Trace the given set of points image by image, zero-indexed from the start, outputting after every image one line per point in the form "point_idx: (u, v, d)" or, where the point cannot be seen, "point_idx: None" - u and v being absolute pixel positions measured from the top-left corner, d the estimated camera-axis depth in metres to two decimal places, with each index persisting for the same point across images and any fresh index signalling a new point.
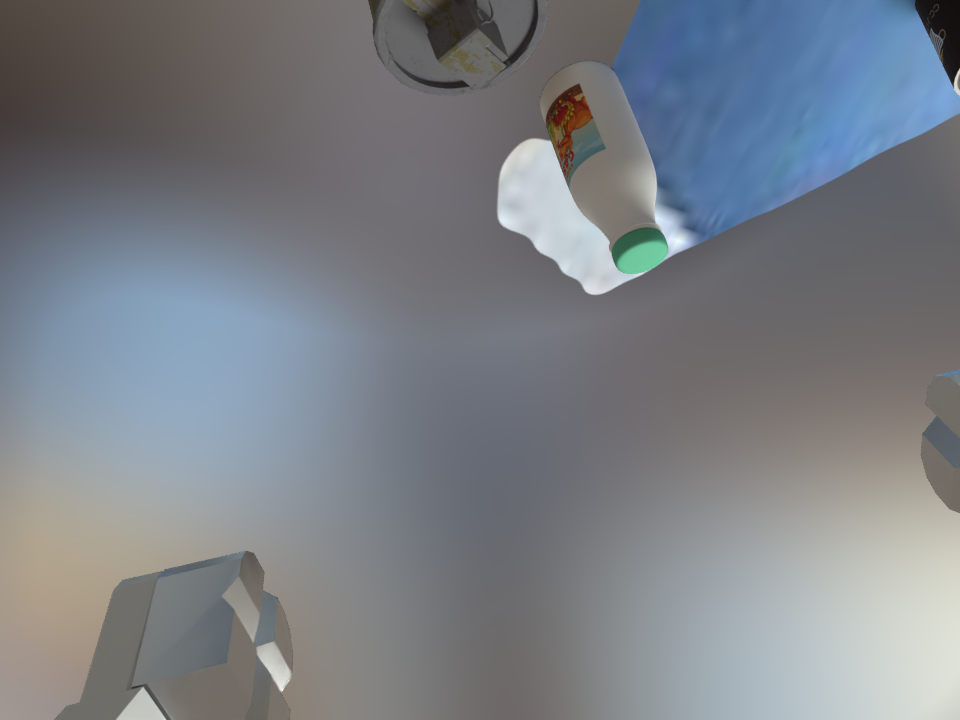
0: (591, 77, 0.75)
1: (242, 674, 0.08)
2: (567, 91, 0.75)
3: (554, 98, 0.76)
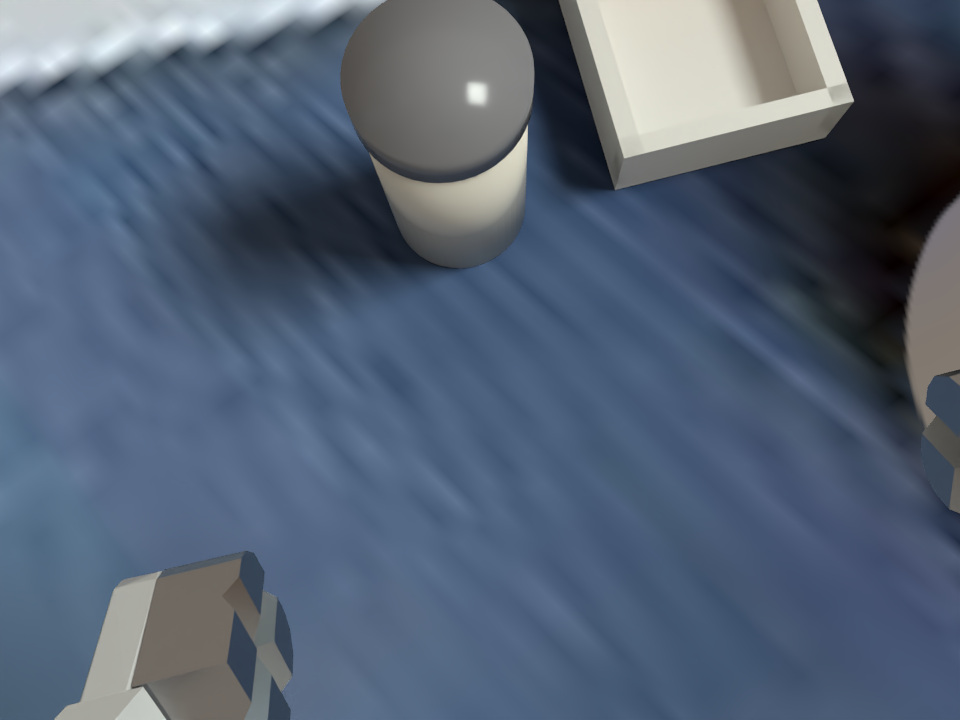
0: None
1: (241, 674, 0.08)
2: None
3: None
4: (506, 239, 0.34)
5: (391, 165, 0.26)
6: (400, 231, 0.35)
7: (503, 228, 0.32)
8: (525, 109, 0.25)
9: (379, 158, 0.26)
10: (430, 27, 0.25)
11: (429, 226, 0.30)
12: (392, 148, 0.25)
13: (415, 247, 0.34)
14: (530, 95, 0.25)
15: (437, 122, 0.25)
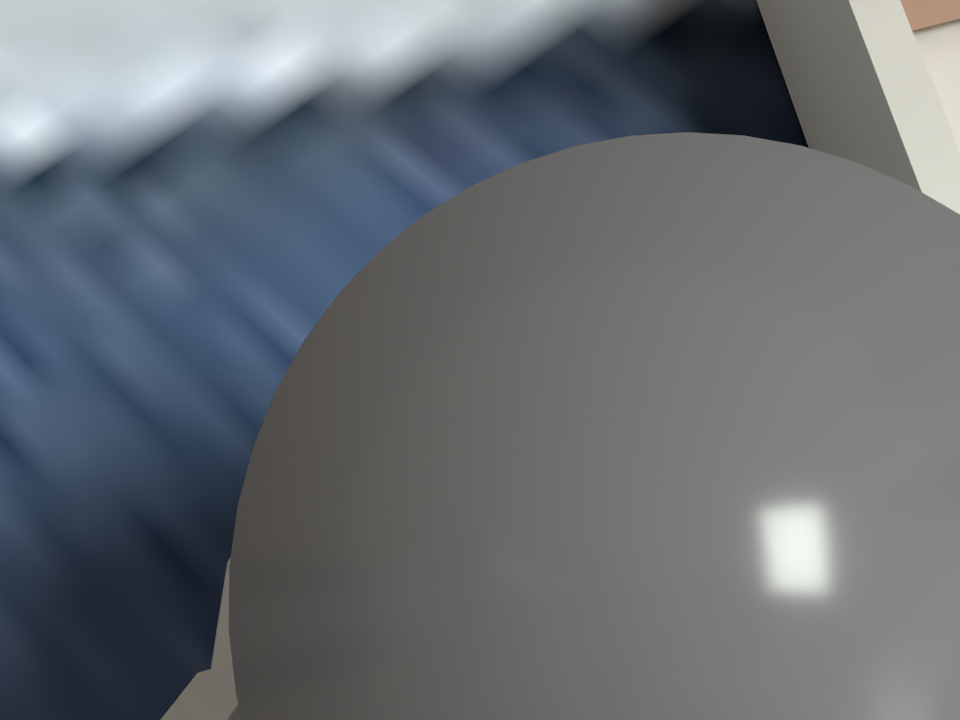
0: None
1: None
2: None
3: None
4: None
5: None
6: None
7: None
8: None
9: None
10: (655, 334, 0.05)
11: None
12: None
13: None
14: None
15: None
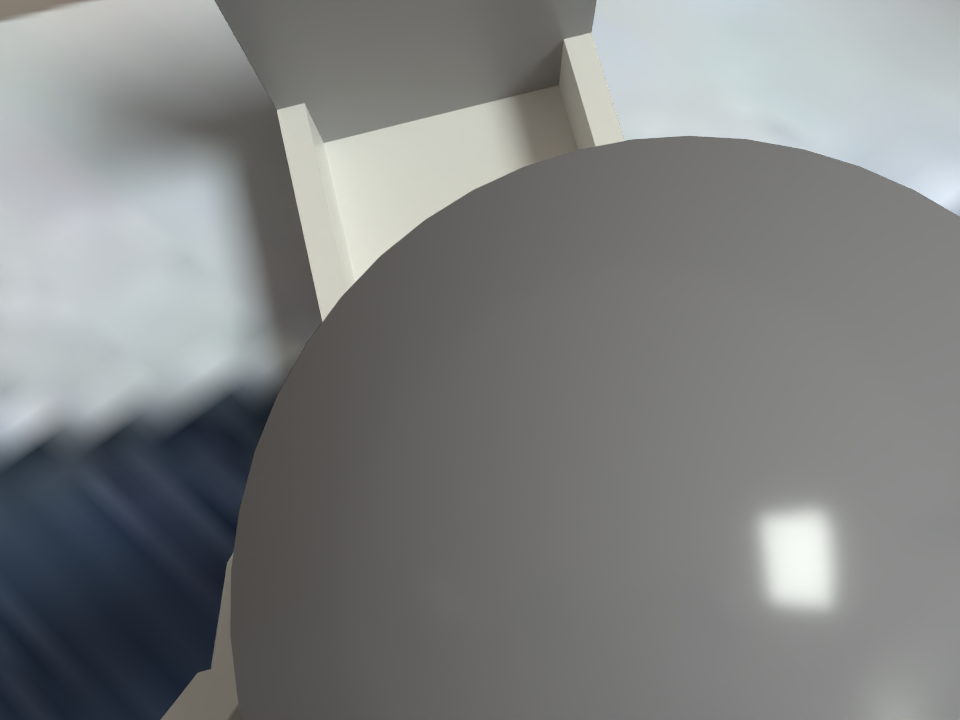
0: None
1: None
2: None
3: None
4: None
5: None
6: None
7: None
8: None
9: None
10: (658, 338, 0.05)
11: None
12: None
13: None
14: None
15: None
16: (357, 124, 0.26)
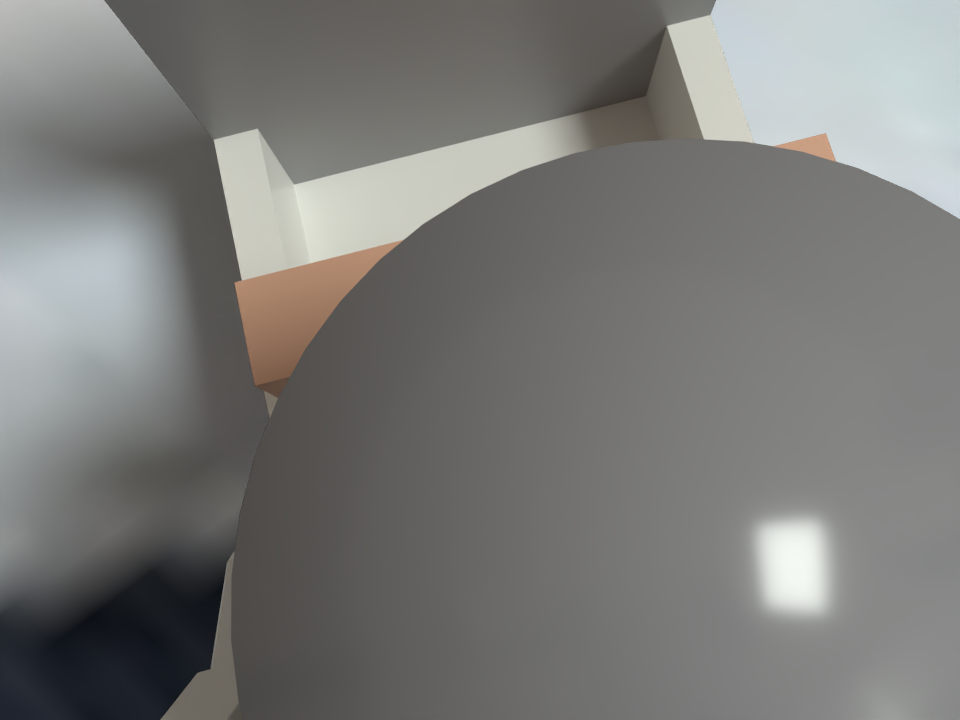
0: None
1: None
2: None
3: None
4: None
5: None
6: None
7: None
8: None
9: None
10: (657, 341, 0.05)
11: None
12: None
13: None
14: None
15: None
16: (343, 157, 0.17)
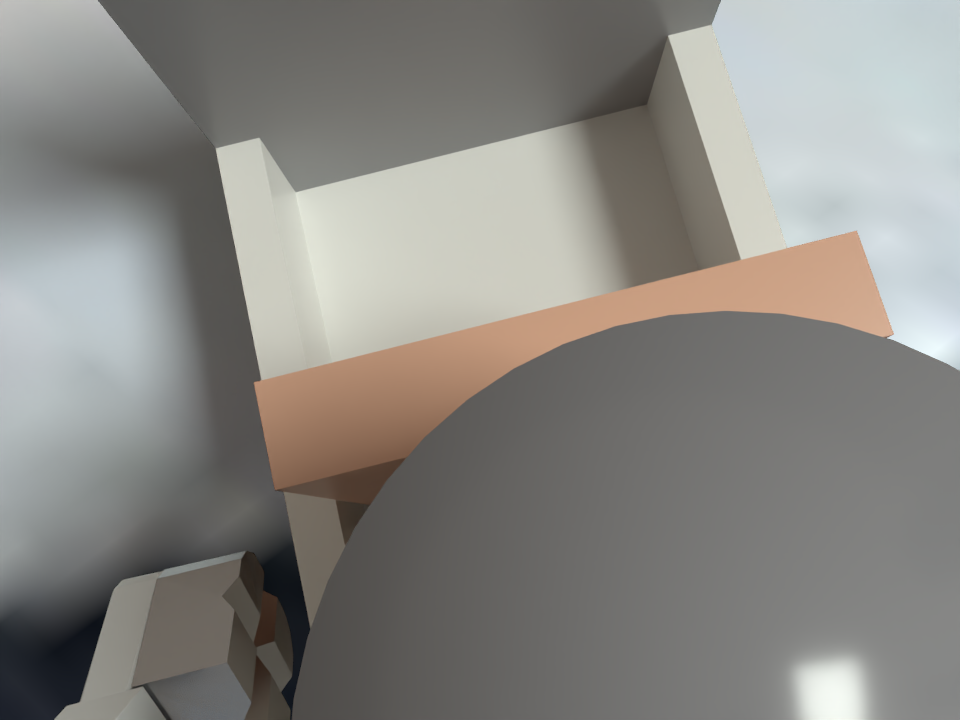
0: None
1: (242, 674, 0.08)
2: None
3: None
4: None
5: None
6: None
7: None
8: None
9: None
10: (700, 519, 0.06)
11: None
12: None
13: None
14: None
15: None
16: (345, 165, 0.17)
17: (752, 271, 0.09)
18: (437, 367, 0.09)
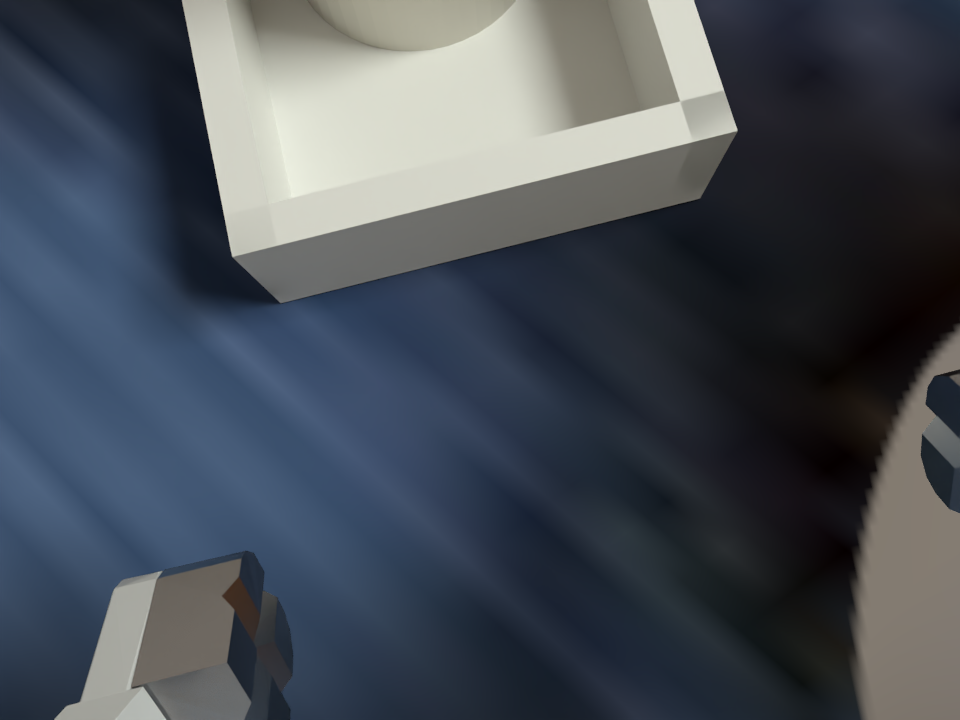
0: None
1: (242, 674, 0.08)
2: None
3: None
4: None
5: None
6: None
7: None
8: None
9: None
10: None
11: None
12: None
13: (326, 5, 0.17)
14: None
15: None
16: None
17: None
18: None
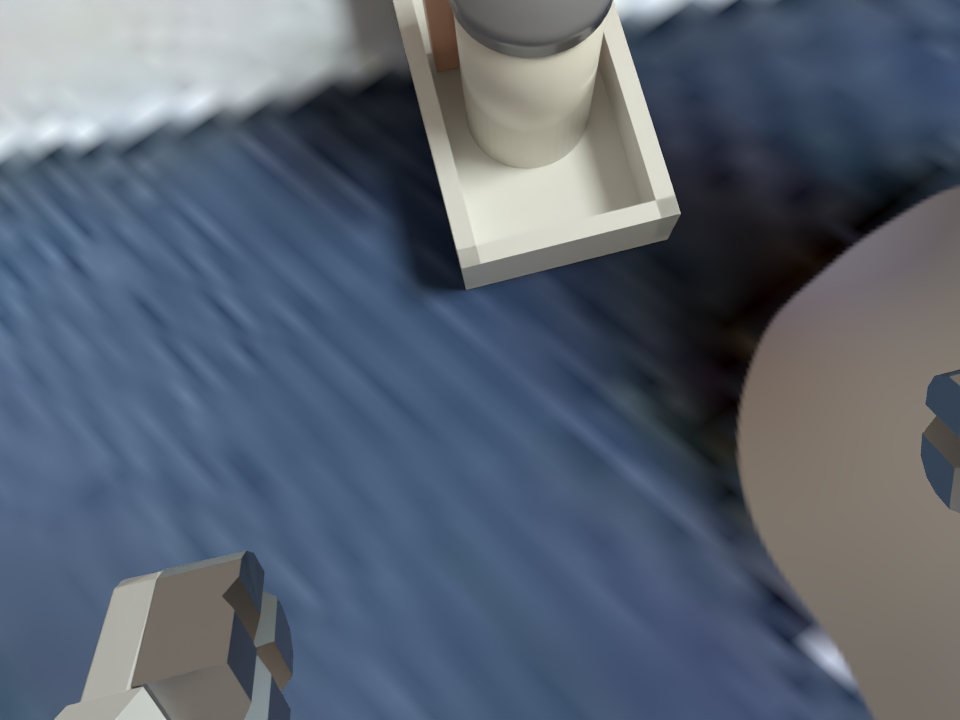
0: None
1: (242, 674, 0.08)
2: None
3: None
4: (575, 137, 0.36)
5: (491, 40, 0.28)
6: (473, 135, 0.37)
7: (575, 122, 0.35)
8: None
9: (479, 35, 0.28)
10: None
11: (511, 115, 0.33)
12: (494, 21, 0.27)
13: (489, 148, 0.37)
14: None
15: None
16: None
17: None
18: None
